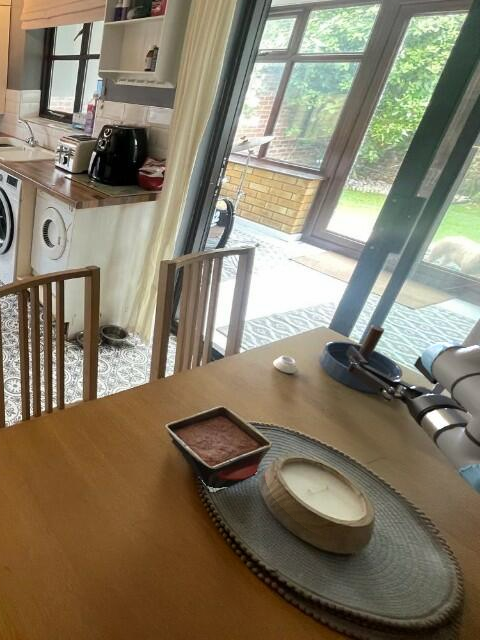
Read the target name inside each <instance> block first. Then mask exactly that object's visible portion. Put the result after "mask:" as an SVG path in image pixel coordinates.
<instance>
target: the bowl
mask: <svg viewBox="0 0 480 640" xmlns="http://www.w3.org/2000/svg"><path fill="white" fill-rule="evenodd" d="M349 346H354V347H355V348H356V349H357V351H358V352H359V350H360V348H361V346H362V344H361V345H360V344H357V343H353V342H348V341H331V342H328V343H327V344H325V345H324V348H323V350H322V352H321V354H320V356H319V359H318V361H319V365H320V366H321V367H322V369H323V370H324V372H325V373H327V374H328V375H329V376H330V377H331V378H333V379H334V380H336V381H338V382H339V383H341V384H343V385H345V386H347V387H349V388H352V389H354V390H358V391H361V392H365V393H371V394H378V393H377V392H376V391H374V390H373V389H371V388H370V387H368V386H367V385H365V384H364V383H363V382H361V381H360V380H358V379H357V378H355V377H354V376H352V375H351V374H350V373H348V372H347V370H348V368H349V366H350V364H351V363H350V362H349V358H348V357H347V355H346V352H347V350H348V348H349ZM367 365H368V366H370V367H372V368H374V369H376V370H378V371H380V372H382V373H384V374H386V375H388V376H389V377H391V378H393V379H395V380H402V377H403V370H402V368H401V366H400V365H398V364H397V362H395V361H394V360H393V359H391V358H389V357H388V356H387V355H385V354H383V353H381V352H379V351H376V350H374V351H373V353H372V355H371V357H370V359H369V360H368V363H367Z"/></svg>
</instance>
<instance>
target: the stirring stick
mask: <svg viewBox="0 0 480 640" xmlns="http://www.w3.org/2000/svg"><path fill="white" fill-rule="evenodd" d="M384 332H385V329H384V328H383V327H381V326H379V325H371V327H370V328H369V330H368V333H367V334H366V336H365V338H364V340H363V342H362V344H361V348H360V350H359V353H360V354H361V355H362V356H363V358H364V359H365V360H366V361H367V362H368V360H369V359H370V357H371V355H372V353H373V351H375V349H376V347H377V346H378V344H379V341H380V340H381V338H382V336H383V334H384Z"/></svg>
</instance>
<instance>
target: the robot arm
mask: <svg viewBox="0 0 480 640" xmlns="http://www.w3.org/2000/svg"><path fill="white" fill-rule="evenodd" d="M346 355H347V357H348V358H349V362H350V363H351V364H350V366H349V368H348V370H347V372H348V373H350V374H351V375H352V376H354V377H355V378H357V379H358V380H360V381H361V382H363V383H364V384H365V385H367V386H368V387H370V388H371V389H373V390H374V391H376V392H377V393H376V394H378V395H379V396H380V397H381V398H382V399H383V400H385V401H386V402H392V401H393V400H399V401H400V402H402V403H403V404H405V406H406V409H407V411H408V413H409V415H410V417H411V418H412V419H413V420H414V421H415V423H416V424H417V425H418V426H419V427H420V428H421V429H422V430H423V431H424V434H426V436H428V437H429V439H430V440H431V441H432V442H433V443H434V444H435V445H436V446H437V448H438V449H439V450H440V452H441V453H442V454H443V455H444V456H445V458H446V459H447V460H448V461H449V463H450V464H451V466H453V468H454V469H455V470H456V471H457V473H458V474H459V476H460V477H461V478H462V479H464V481H465V482H466V483H467V484H468V485H469V486H470V487H471V488H472V489H473V490H475V491H476V493H478V494H479V495H480V343H479V344H475V345H472V346H468V347H467V346H464V345H463V344H460V343H457V342H452V341H450V342H449V341H448V342H442V341H441V342H437V343H434V344H432V345H429V346H428V347H427V348H425V349H424V350H423V352H422V353H421V356H418V357H417V359H416V361H415V363H414V364H413V366H414V368H416V370H417V371H418V372H419V373H420V374H421V375H422V376H424V378H426V380H427V381H428V382H429V383H430V384H431V385H435V386H434V387H433V388H432V389H430V388H427V387H425V386H420V385H419V386H417V385H414V384H409V383H407V382H405V381H404V380H402V379H400V380H395V379H393V378H391V377H389V376H388V375H386V374H384V373H382V372H380V371H378V370H376V369H374V368H372V367H370V366H368V365H367V363H368V362H367V361H366V360H365V359H364V358H363V356H362V355H361V354H360V353H359V352H358V351H357V349H356V348H355V347H354V346H349V348H348V350H347V352H346ZM400 387H402V388H401V390H400V391H398V390H399V388H400ZM445 390H446V391H447V393H449V394H450V397H449V396H447V395H444V394H442V393H443V392H444V391H445Z"/></svg>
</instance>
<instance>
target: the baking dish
mask: <svg viewBox="0 0 480 640" xmlns="http://www.w3.org/2000/svg"><path fill="white" fill-rule="evenodd" d="M164 426H165V430H166V431H167V434H168V435H169V437H170V438H171V439H172V440H171V441H170V442H171V443H172V444H173V445H174V446H175V448H176V449H177V450H178V451H179V452H180V453H181V455H182V456H183V458H184V460H185V461H186V462H187V464H188V465H189V466H190V469H191V470H192V471H193V473H194V474H195V476H197V475H198V476H199V477H200V478H201V479H202V480H203V482H204V483H205V484H206V486H209V487H213V488H222V487H229V488H231V487H230V486H232V487H234V486H236V485H238V484H240V483H239V482H241V483H243V482H245V481H247V480H249V479H251V478H253V477H255V476H256V475H255V473H256V472H258V469H259V466H260V464H261V462H262V460H263V459H264V457H265V456H266V455H267V454H268V452H269V451H271V450H270V449H271V448H272V447H273V443H272V441H271V440H270V439H268V437H267V436H266V435H265V434H263V432H261V431H260V430H259V429H257V428H256V427H254V425H252V424H251V423H250V422H249V421H248V420H246V419H245V418H243V417H242V416H241V415H239V414H238V413H236V412H235V411H234V410H232V409H231V408H229V407H227V406H224V405H217V406H216V407H211V408H208V409H206V410H203V411H200V412H198V413H195V414H193V415H190V416H186V417H184V418H181V419H178V420H175V421H172V422H171V421H170V422H169V423H167V424H165V425H164ZM252 476H253V477H252ZM250 477H251V478H250ZM248 478H249V479H248ZM246 479H247V480H246ZM244 480H245V481H244ZM242 481H243V482H242ZM237 483H238V484H237ZM235 484H236V485H235ZM233 485H234V486H233Z"/></svg>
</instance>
